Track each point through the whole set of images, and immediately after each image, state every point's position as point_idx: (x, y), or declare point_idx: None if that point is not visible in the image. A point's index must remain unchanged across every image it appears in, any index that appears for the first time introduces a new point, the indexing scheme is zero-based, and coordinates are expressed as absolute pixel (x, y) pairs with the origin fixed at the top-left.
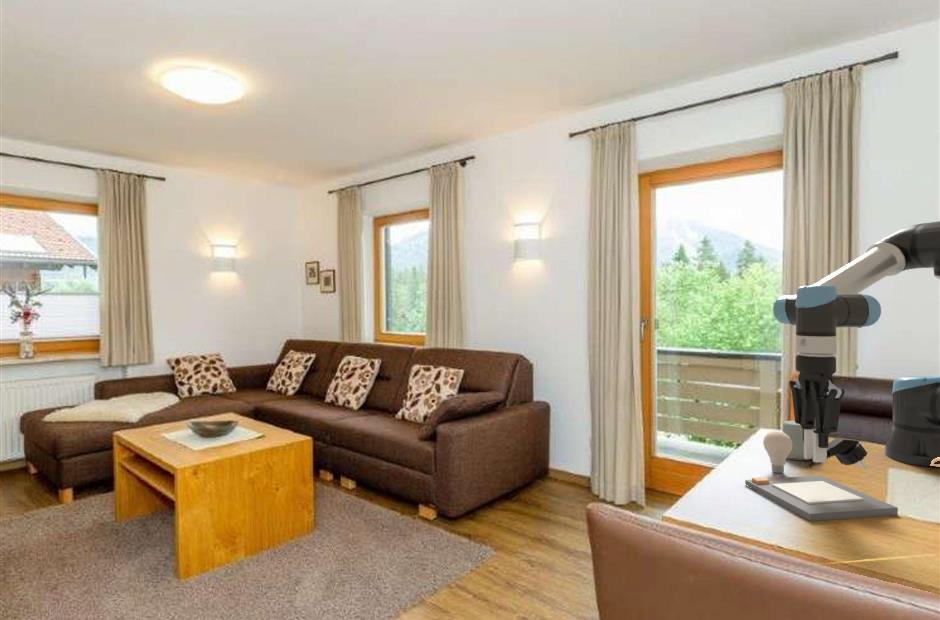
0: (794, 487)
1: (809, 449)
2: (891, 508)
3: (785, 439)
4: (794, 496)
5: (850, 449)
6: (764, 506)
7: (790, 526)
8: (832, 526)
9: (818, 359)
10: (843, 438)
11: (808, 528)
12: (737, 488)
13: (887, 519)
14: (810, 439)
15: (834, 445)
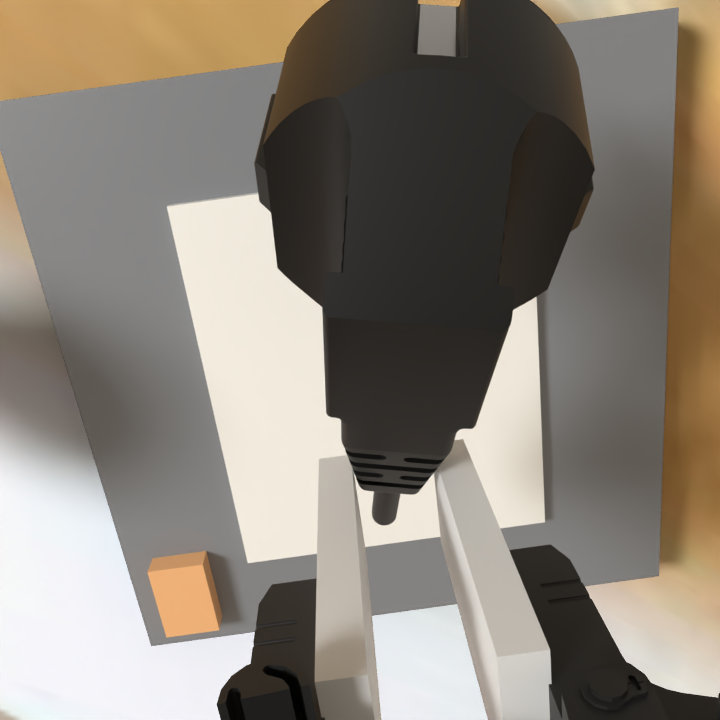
0: (307, 469)
1: (366, 583)
2: (675, 62)
3: None
4: (437, 532)
5: (531, 246)
6: (448, 650)
7: (672, 650)
8: (711, 489)
9: None
10: (366, 235)
11: (706, 596)
12: (196, 664)
13: (698, 143)
14: (371, 654)
15: (463, 412)
